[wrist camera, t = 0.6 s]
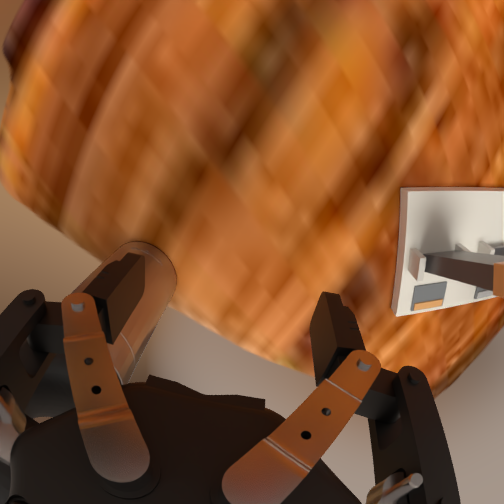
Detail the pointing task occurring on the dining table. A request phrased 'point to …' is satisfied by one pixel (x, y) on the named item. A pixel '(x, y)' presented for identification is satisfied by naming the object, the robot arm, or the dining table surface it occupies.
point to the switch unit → (443, 243)
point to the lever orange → (469, 269)
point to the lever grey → (499, 250)
